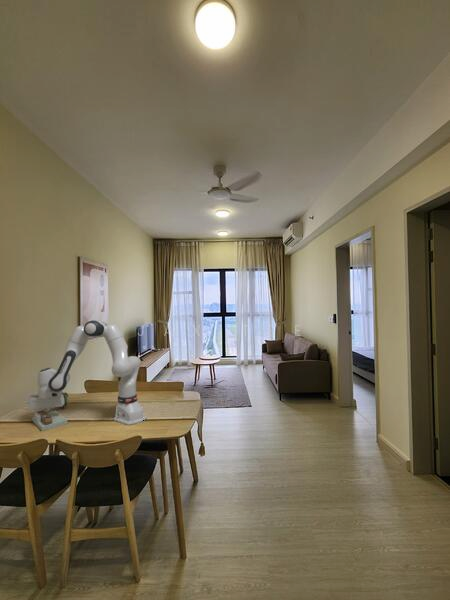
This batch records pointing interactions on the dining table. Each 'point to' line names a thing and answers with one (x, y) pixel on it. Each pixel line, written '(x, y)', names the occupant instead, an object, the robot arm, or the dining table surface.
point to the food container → (64, 401)
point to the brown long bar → (45, 417)
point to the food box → (56, 420)
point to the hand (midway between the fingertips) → (47, 414)
